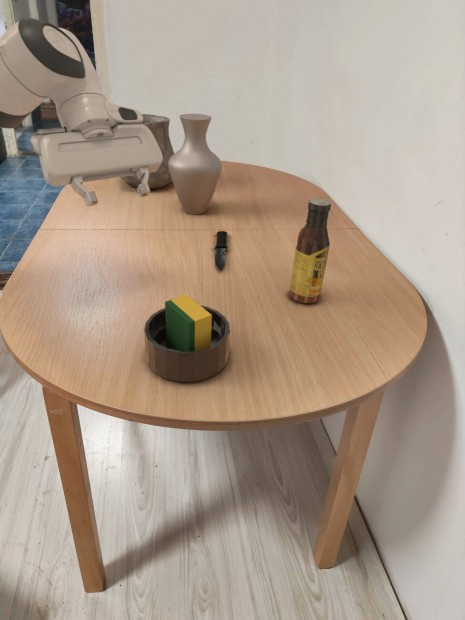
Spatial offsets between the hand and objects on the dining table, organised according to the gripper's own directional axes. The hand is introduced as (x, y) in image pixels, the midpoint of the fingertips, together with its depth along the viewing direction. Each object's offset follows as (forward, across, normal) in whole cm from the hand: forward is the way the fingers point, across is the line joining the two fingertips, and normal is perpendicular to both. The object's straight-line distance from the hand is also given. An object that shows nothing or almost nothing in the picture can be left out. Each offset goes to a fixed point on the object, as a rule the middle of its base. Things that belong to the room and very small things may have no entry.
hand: (120, 199), depth 75 cm
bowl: (+28, +1, 0) cm, 29 cm away
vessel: (-29, +37, +58) cm, 75 cm away
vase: (-10, +38, +39) cm, 55 cm away
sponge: (+28, +1, 0) cm, 28 cm away
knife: (+9, +28, +20) cm, 35 cm away
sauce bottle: (+26, +31, +3) cm, 40 cm away
